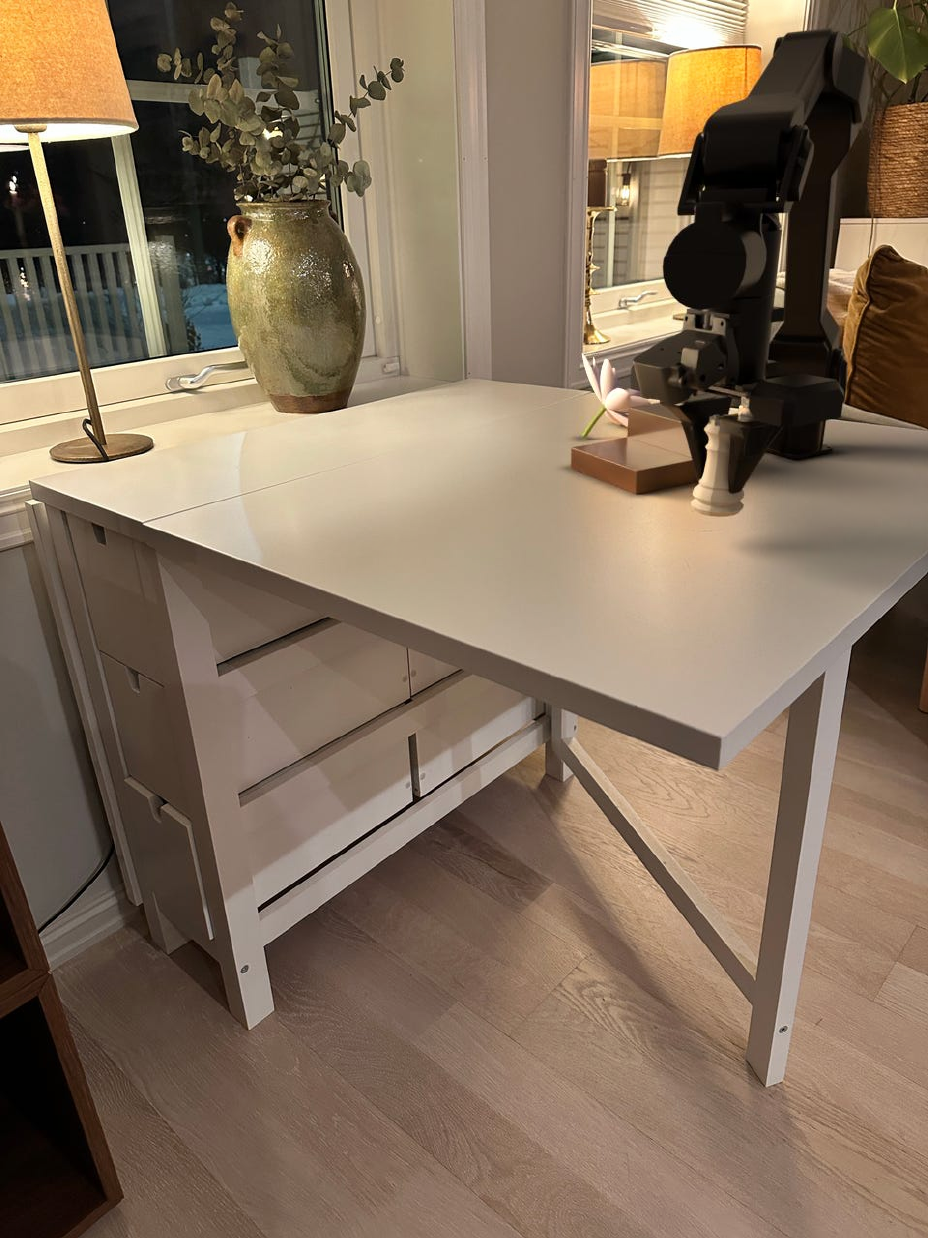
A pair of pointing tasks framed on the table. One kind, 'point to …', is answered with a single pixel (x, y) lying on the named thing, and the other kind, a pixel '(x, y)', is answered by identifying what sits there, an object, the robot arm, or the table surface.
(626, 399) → the water lily
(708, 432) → the rook chess piece
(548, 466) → the table surface
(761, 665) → the table surface
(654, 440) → the step shelf
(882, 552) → the table surface
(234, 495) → the table surface
